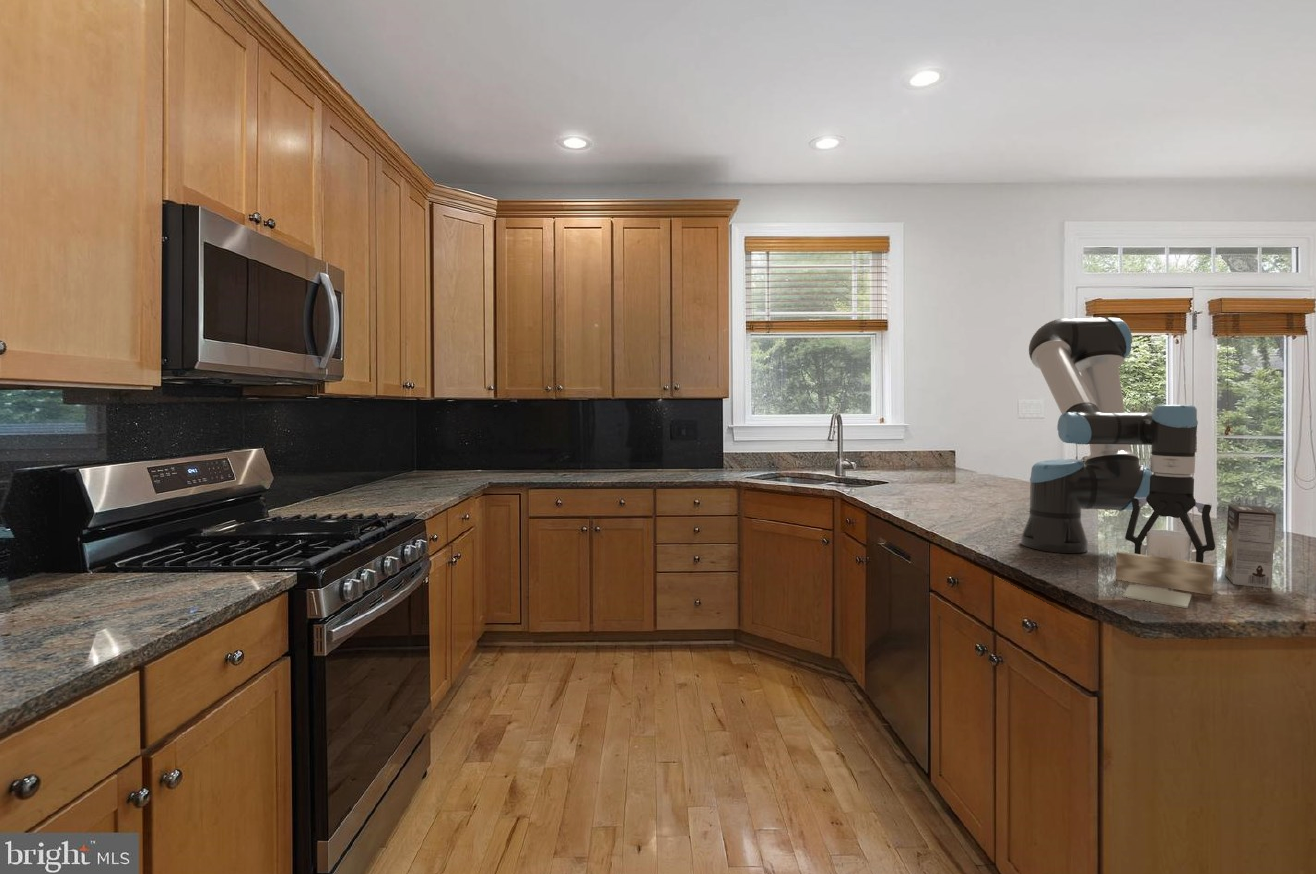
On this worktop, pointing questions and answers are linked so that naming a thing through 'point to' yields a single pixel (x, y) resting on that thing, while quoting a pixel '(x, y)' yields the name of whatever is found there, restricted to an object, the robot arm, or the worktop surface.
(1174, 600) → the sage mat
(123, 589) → the worktop surface
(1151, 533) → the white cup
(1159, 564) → the birch screen
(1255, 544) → the coffee box
